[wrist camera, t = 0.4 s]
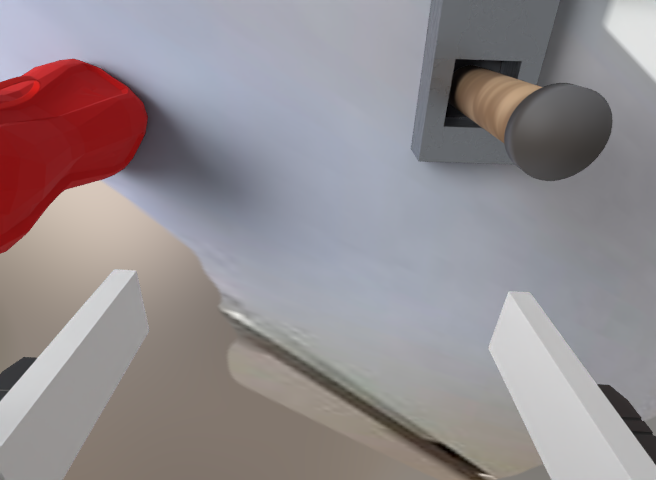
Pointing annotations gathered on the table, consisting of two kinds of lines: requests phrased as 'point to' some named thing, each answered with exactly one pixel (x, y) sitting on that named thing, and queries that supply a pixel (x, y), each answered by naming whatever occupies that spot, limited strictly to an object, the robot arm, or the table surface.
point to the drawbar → (477, 44)
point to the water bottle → (61, 137)
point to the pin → (535, 120)
